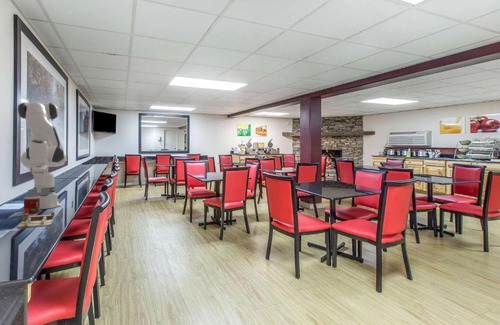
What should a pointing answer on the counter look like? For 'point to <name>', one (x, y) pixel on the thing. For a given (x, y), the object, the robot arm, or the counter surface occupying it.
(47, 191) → the bar
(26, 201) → the canned food
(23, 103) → the robot arm
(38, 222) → the lock board
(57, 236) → the counter surface
